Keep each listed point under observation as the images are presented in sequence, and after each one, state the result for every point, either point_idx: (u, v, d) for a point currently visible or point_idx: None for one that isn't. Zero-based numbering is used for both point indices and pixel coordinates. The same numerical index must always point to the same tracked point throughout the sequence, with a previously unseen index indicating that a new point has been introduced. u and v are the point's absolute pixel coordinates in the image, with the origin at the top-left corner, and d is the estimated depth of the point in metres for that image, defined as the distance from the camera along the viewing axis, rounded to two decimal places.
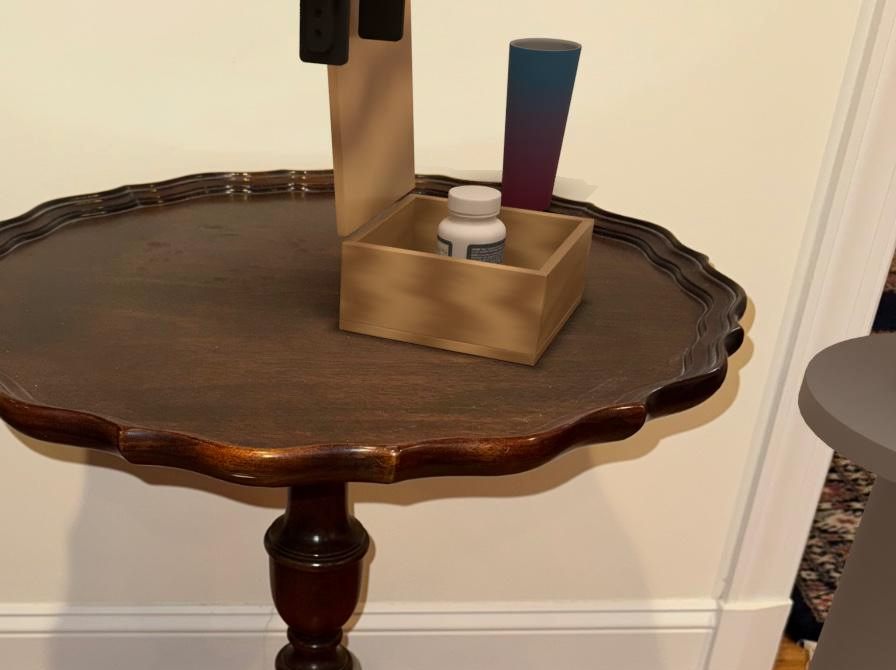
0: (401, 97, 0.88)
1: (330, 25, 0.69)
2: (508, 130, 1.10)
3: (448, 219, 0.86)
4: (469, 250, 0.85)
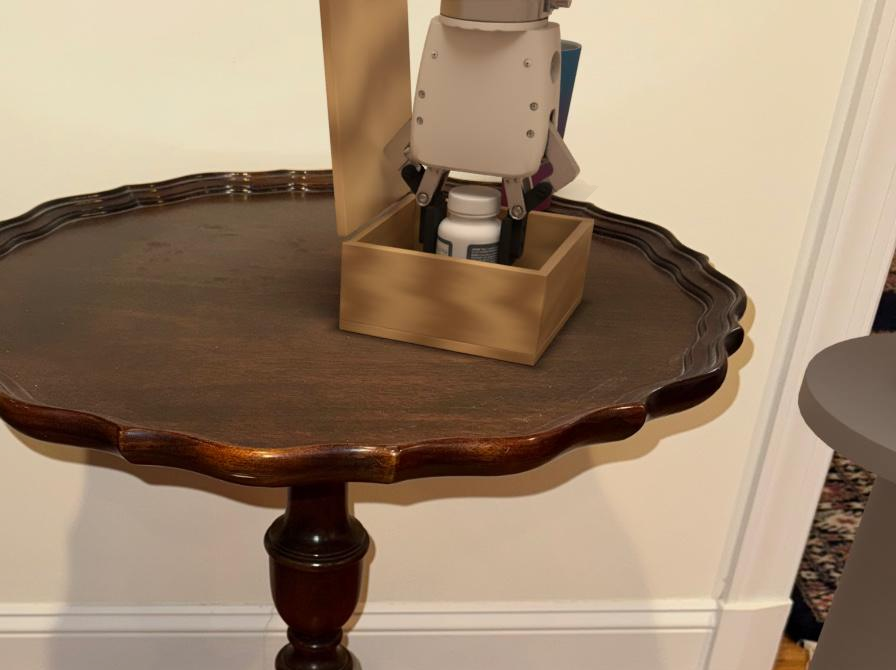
0: (399, 97, 0.88)
1: (525, 234, 0.86)
2: None
3: (448, 219, 0.86)
4: (469, 250, 0.85)
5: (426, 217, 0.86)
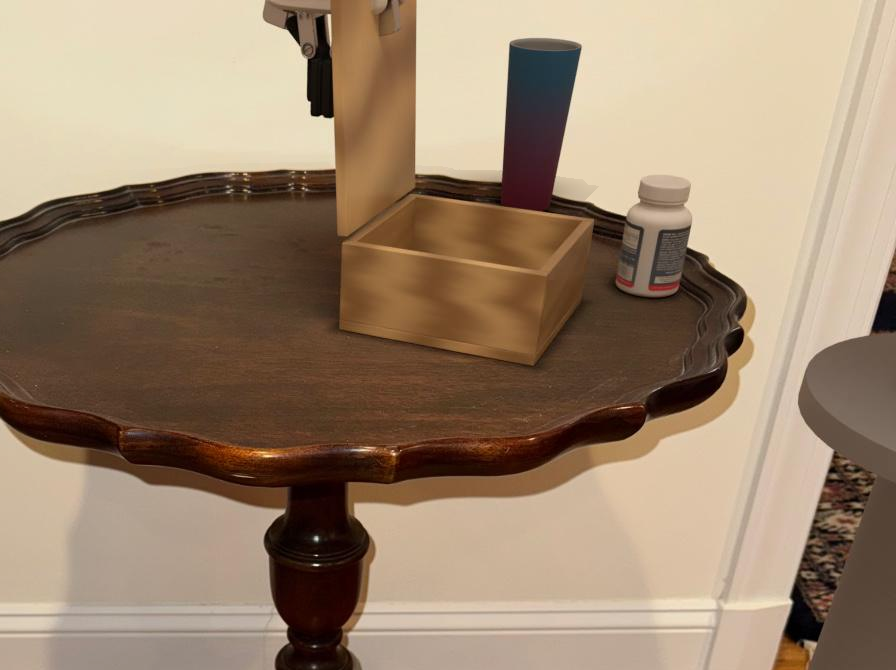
0: (404, 98, 0.88)
1: None
2: (508, 130, 1.10)
3: (638, 206, 0.92)
4: (660, 235, 0.91)
5: (312, 70, 0.84)
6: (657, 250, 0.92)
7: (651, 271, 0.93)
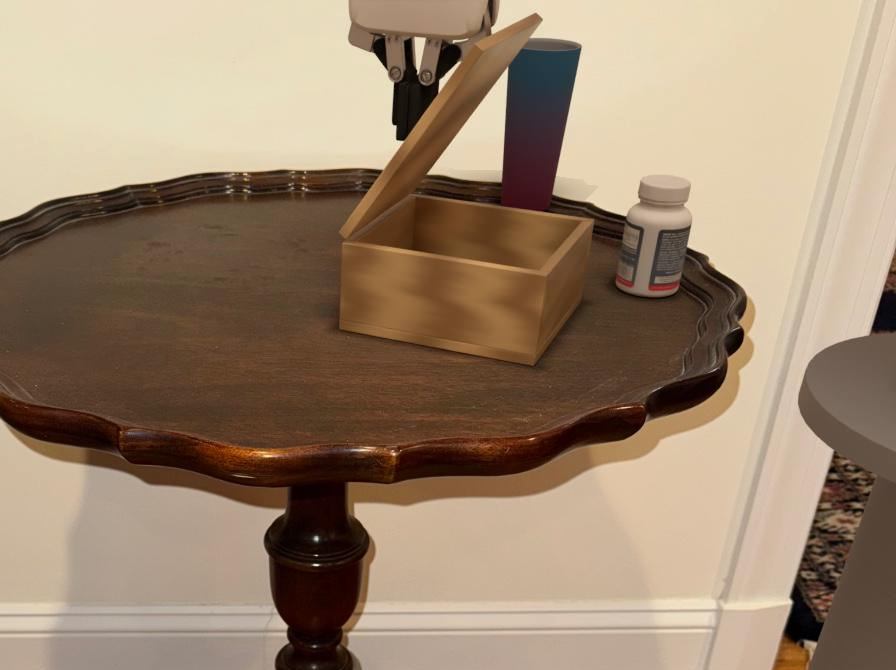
0: (458, 125, 0.87)
1: None
2: (508, 130, 1.10)
3: (638, 206, 0.92)
4: (660, 235, 0.91)
5: (399, 94, 0.82)
6: (657, 250, 0.92)
7: (651, 271, 0.93)
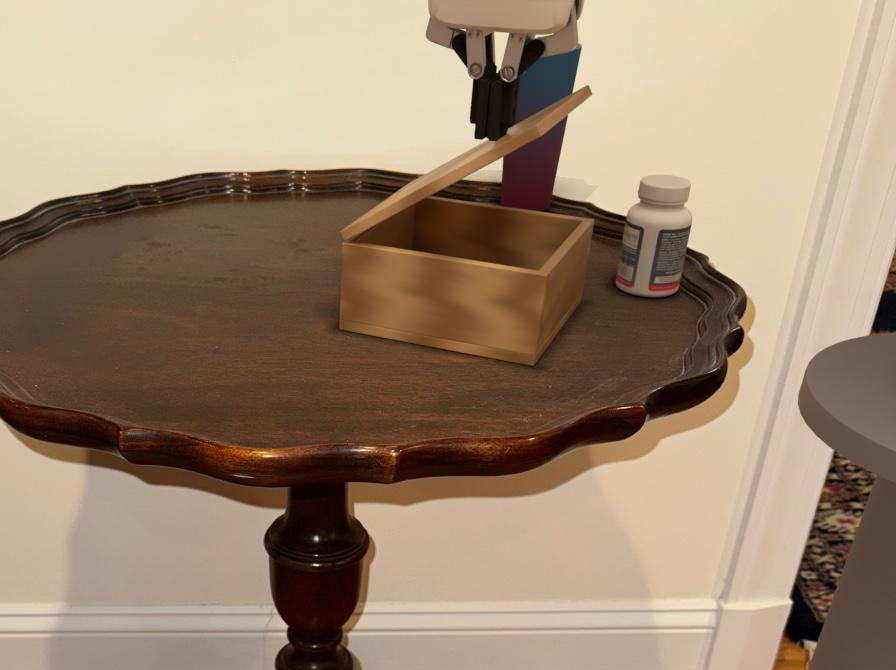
0: None
1: None
2: None
3: (638, 206, 0.92)
4: (660, 235, 0.91)
5: (479, 91, 0.80)
6: (657, 250, 0.92)
7: (651, 271, 0.93)
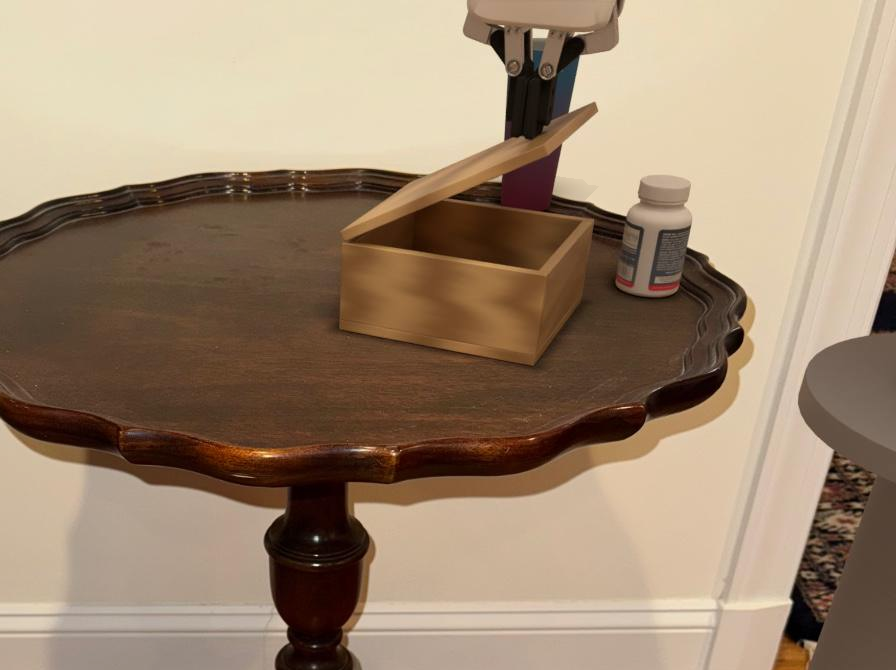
0: None
1: None
2: (508, 130, 1.10)
3: (638, 206, 0.92)
4: (660, 235, 0.91)
5: (516, 88, 0.78)
6: (657, 250, 0.92)
7: (651, 271, 0.93)
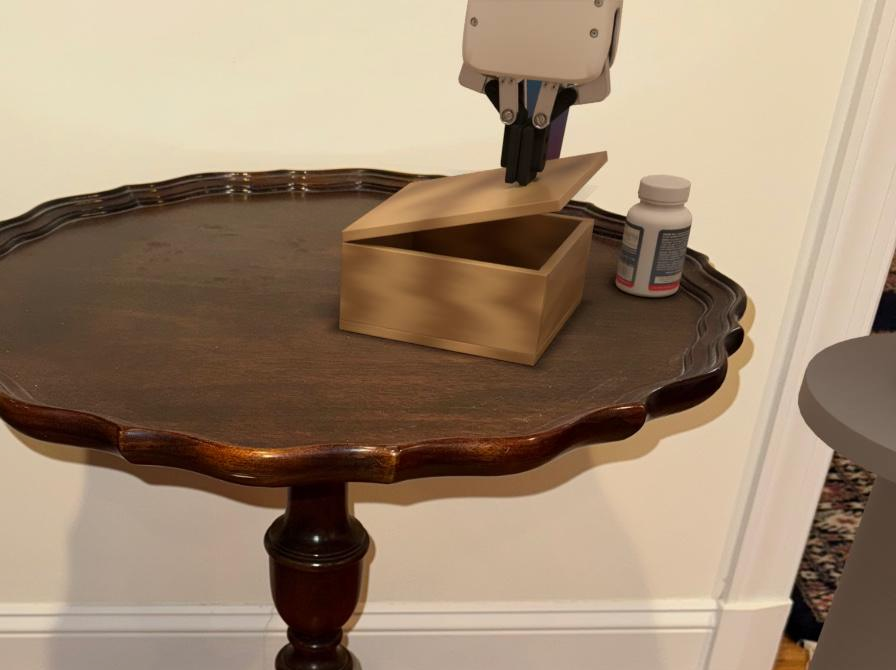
0: None
1: (547, 147, 0.82)
2: None
3: (638, 206, 0.92)
4: (660, 235, 0.91)
5: (511, 137, 0.80)
6: (657, 250, 0.92)
7: (651, 271, 0.93)
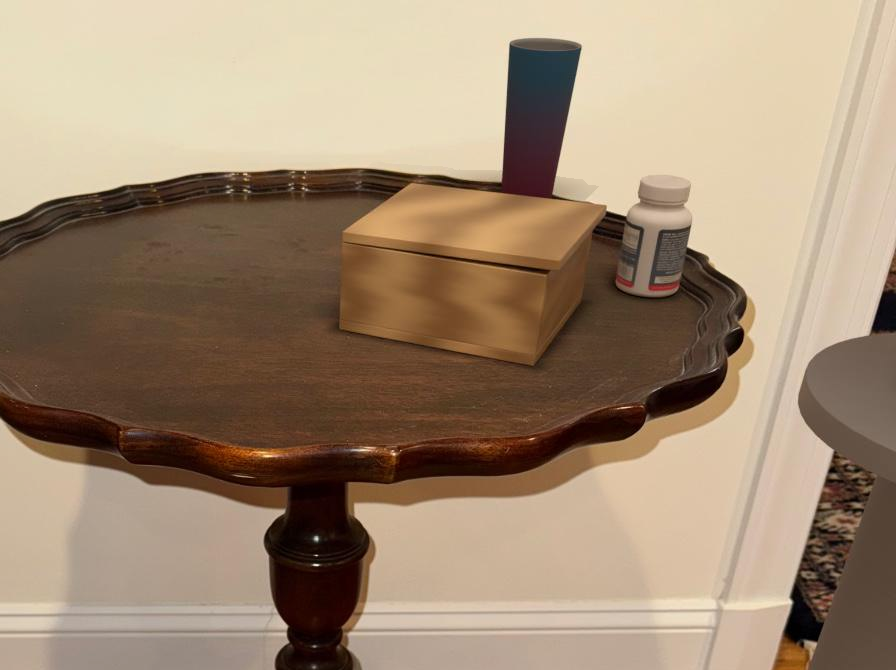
0: None
1: None
2: (508, 130, 1.10)
3: (638, 206, 0.92)
4: (660, 235, 0.91)
5: None
6: (657, 250, 0.92)
7: (651, 271, 0.93)
